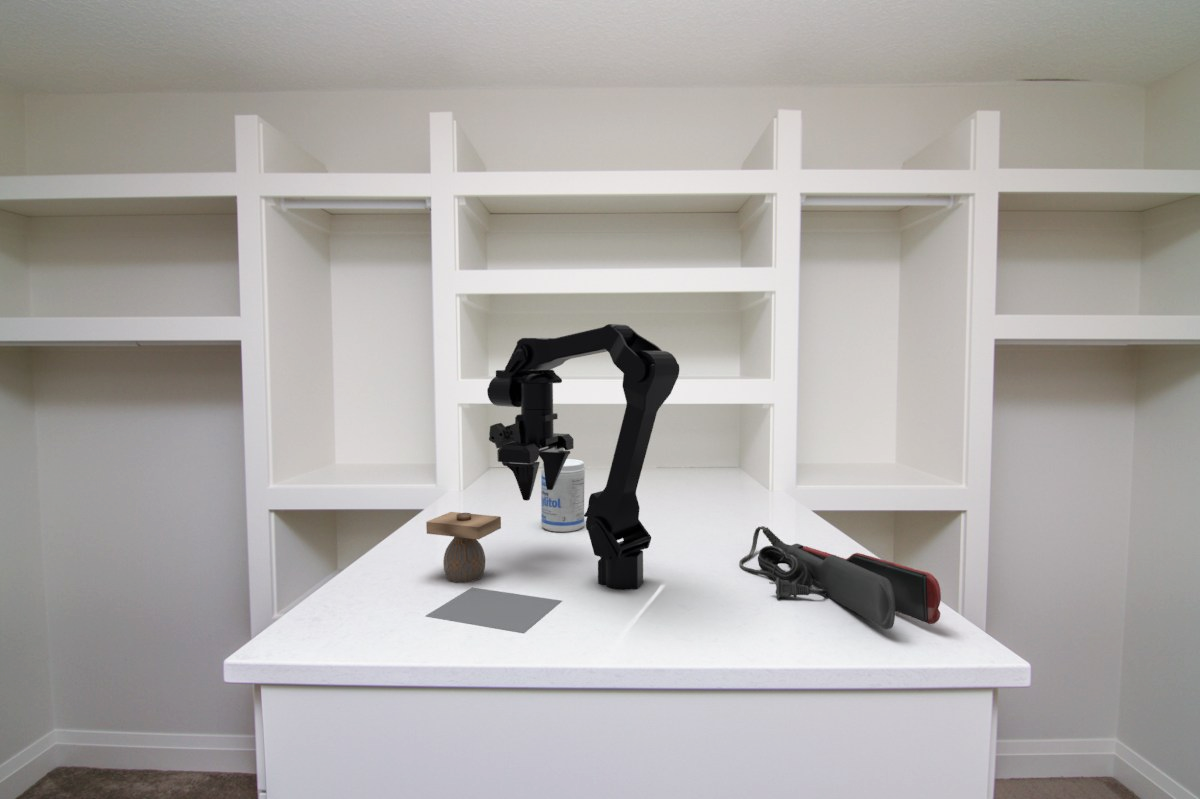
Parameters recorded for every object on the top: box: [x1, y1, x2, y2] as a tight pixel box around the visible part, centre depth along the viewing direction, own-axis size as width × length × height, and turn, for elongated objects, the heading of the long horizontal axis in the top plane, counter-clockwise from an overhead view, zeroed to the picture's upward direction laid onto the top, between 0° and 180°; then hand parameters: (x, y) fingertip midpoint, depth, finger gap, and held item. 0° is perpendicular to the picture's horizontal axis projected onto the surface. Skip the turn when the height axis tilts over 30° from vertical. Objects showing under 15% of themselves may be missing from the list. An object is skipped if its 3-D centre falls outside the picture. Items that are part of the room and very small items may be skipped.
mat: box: [425, 587, 563, 634], centre depth 93 cm, size 16×12×1 cm
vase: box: [442, 537, 486, 583], centre depth 106 cm, size 7×7×9 cm
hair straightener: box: [739, 525, 942, 630], centre depth 102 cm, size 16×40×8 cm, turn 16°
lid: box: [425, 511, 502, 540], centre depth 106 cm, size 10×7×3 cm
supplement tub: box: [540, 458, 586, 533], centre depth 140 cm, size 10×10×15 cm
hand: (538, 494), depth 114 cm, fingers open, 9 cm apart
